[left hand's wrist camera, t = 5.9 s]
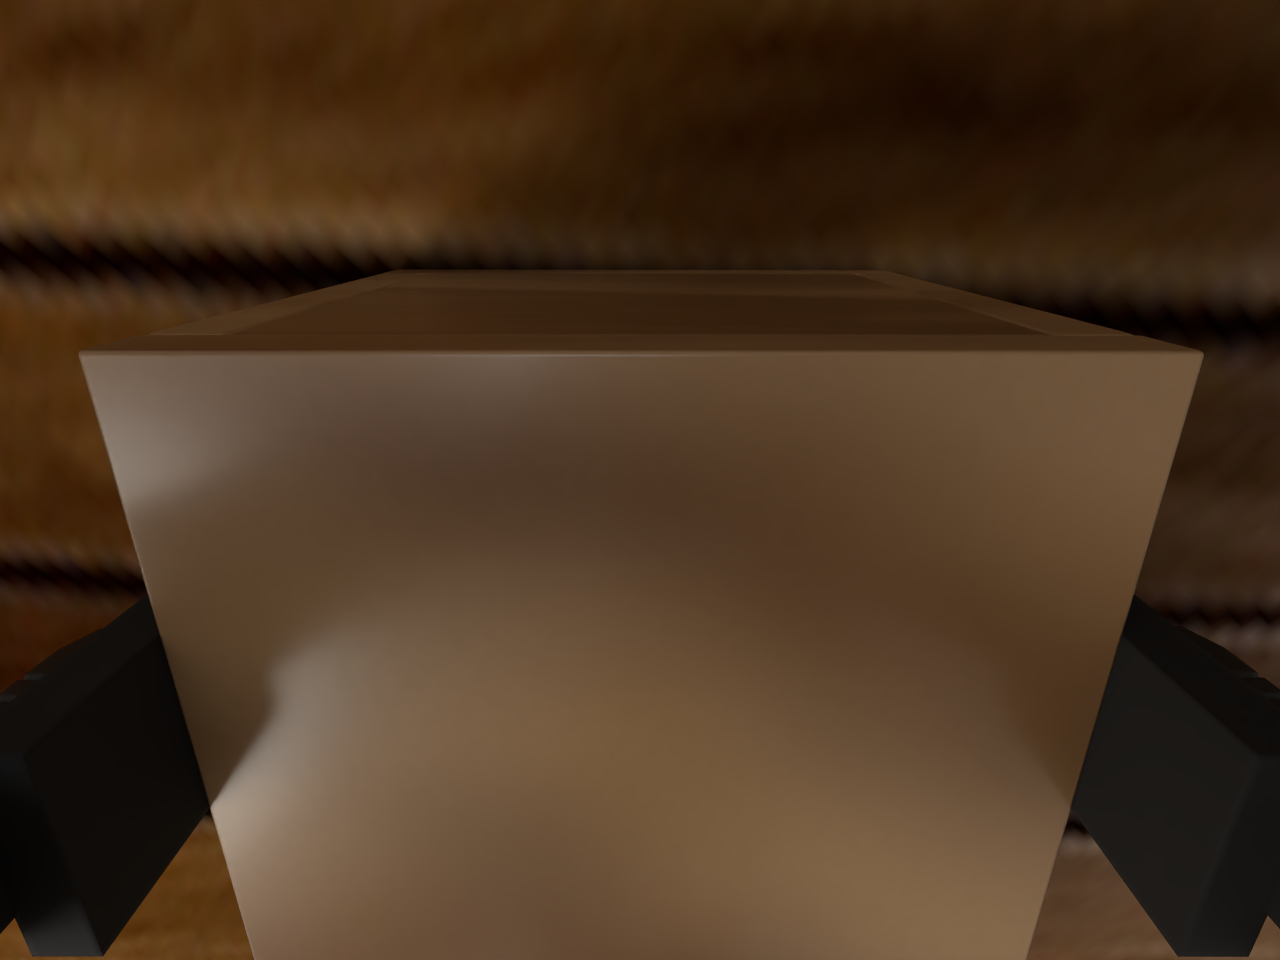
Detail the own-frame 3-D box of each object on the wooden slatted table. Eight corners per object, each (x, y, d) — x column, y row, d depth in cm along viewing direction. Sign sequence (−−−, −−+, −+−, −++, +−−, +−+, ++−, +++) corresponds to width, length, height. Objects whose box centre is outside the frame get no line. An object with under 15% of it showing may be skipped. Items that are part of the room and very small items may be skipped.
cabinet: (808, 901, 24) (915, 1342, 15) (471, 900, 24) (364, 1342, 15) (886, 269, 16) (1208, 351, 7) (395, 269, 16) (73, 350, 7)
